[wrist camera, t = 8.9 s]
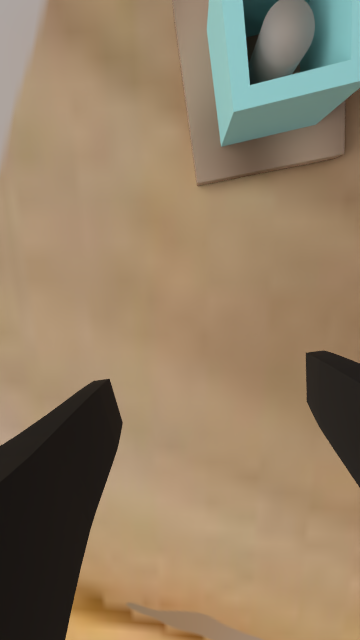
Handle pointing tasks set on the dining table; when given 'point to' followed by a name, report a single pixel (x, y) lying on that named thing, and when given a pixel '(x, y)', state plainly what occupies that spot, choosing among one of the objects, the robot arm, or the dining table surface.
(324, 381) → the robot arm
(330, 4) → the teal hollow block
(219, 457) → the dining table surface
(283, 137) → the pin plate
